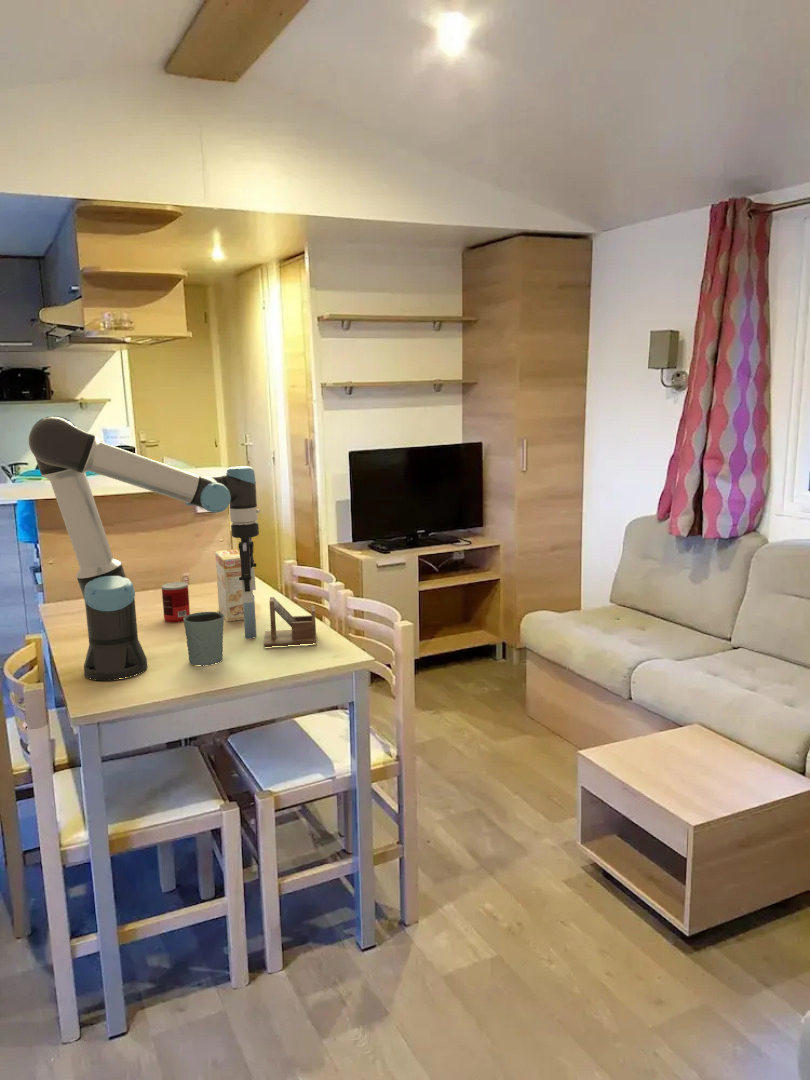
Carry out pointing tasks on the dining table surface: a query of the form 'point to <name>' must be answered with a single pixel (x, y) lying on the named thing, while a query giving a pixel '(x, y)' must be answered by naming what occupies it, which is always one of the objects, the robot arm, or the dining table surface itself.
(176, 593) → the canned food
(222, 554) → the coffeecake box
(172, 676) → the dining table surface
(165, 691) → the dining table surface
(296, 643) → the socket cradle
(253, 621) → the peg
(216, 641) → the grey-green cup
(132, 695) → the dining table surface
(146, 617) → the dining table surface
